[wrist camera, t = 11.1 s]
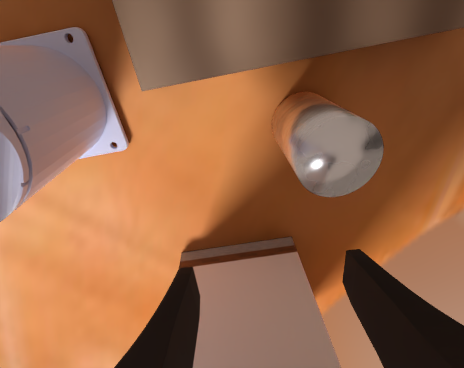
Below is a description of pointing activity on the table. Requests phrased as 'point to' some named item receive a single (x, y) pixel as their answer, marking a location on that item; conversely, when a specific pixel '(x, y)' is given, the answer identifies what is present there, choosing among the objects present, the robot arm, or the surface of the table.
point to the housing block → (264, 32)
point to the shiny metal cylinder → (326, 144)
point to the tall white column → (257, 309)
